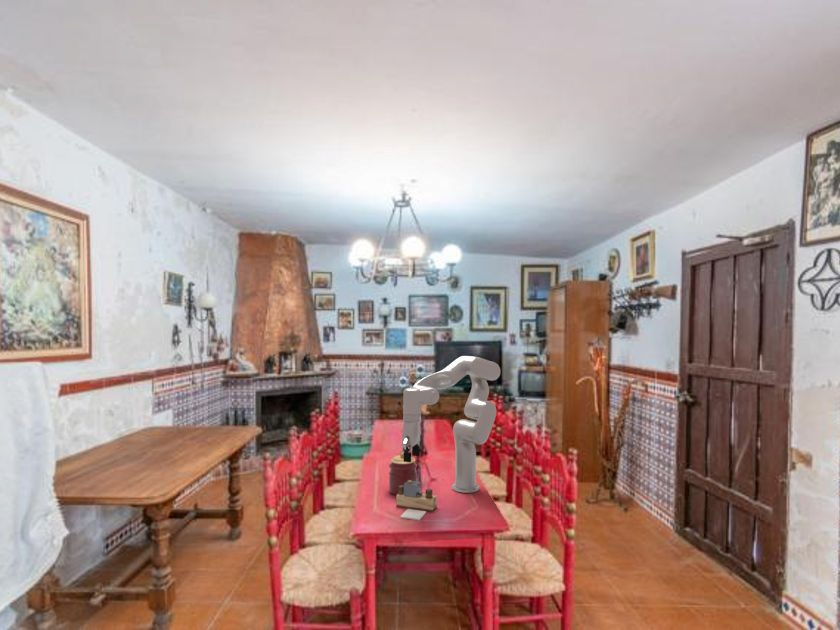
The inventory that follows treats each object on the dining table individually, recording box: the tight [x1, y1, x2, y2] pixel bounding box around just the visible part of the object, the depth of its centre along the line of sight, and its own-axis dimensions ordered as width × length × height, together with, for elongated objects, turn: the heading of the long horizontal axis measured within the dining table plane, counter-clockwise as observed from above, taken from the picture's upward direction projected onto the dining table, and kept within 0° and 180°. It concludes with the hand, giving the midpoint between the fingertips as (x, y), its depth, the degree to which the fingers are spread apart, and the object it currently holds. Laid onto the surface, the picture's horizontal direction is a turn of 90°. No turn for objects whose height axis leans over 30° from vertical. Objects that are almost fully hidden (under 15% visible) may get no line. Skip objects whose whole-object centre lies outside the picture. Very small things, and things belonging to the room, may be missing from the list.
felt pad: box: [399, 508, 427, 522], centre depth 186 cm, size 8×8×1 cm
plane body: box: [395, 485, 438, 512], centre depth 195 cm, size 6×16×8 cm, turn 70°
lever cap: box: [404, 480, 421, 498], centre depth 195 cm, size 5×6×6 cm
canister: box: [388, 451, 418, 496], centre depth 213 cm, size 13×13×18 cm
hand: (411, 458), depth 196 cm, fingers open, 9 cm apart
